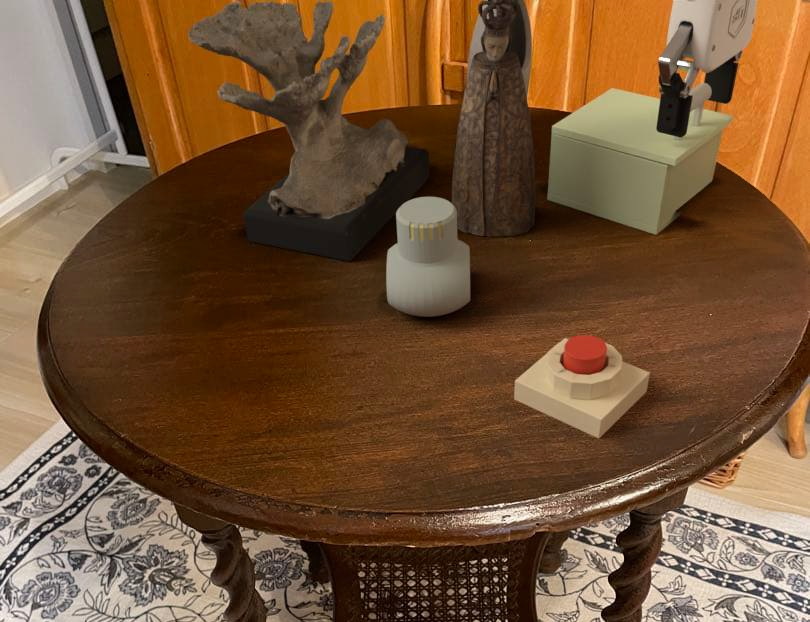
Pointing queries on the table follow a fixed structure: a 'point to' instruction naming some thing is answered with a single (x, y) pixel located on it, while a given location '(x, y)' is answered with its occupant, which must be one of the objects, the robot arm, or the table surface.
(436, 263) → the air freshener
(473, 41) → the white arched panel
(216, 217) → the table surface
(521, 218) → the statue
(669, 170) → the chest
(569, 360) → the button
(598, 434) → the control block
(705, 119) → the lid
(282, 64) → the coral
